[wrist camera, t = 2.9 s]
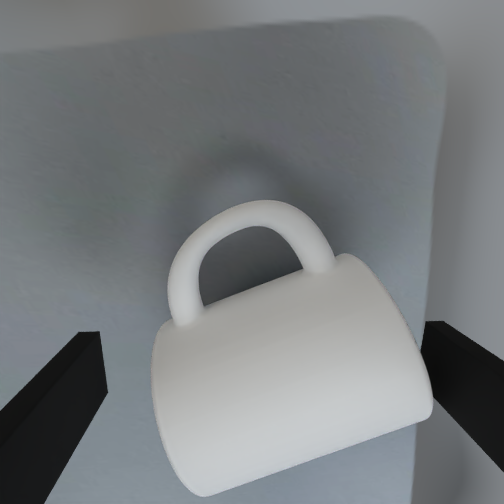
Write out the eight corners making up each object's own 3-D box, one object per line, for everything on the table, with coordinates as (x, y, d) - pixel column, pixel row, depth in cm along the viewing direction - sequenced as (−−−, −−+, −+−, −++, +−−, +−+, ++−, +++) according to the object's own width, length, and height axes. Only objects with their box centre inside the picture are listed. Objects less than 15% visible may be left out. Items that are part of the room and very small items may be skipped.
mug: (364, 347, 19) (454, 464, 11) (223, 399, 19) (216, 547, 11) (308, 170, 16) (379, 162, 8) (143, 235, 16) (59, 287, 8)
